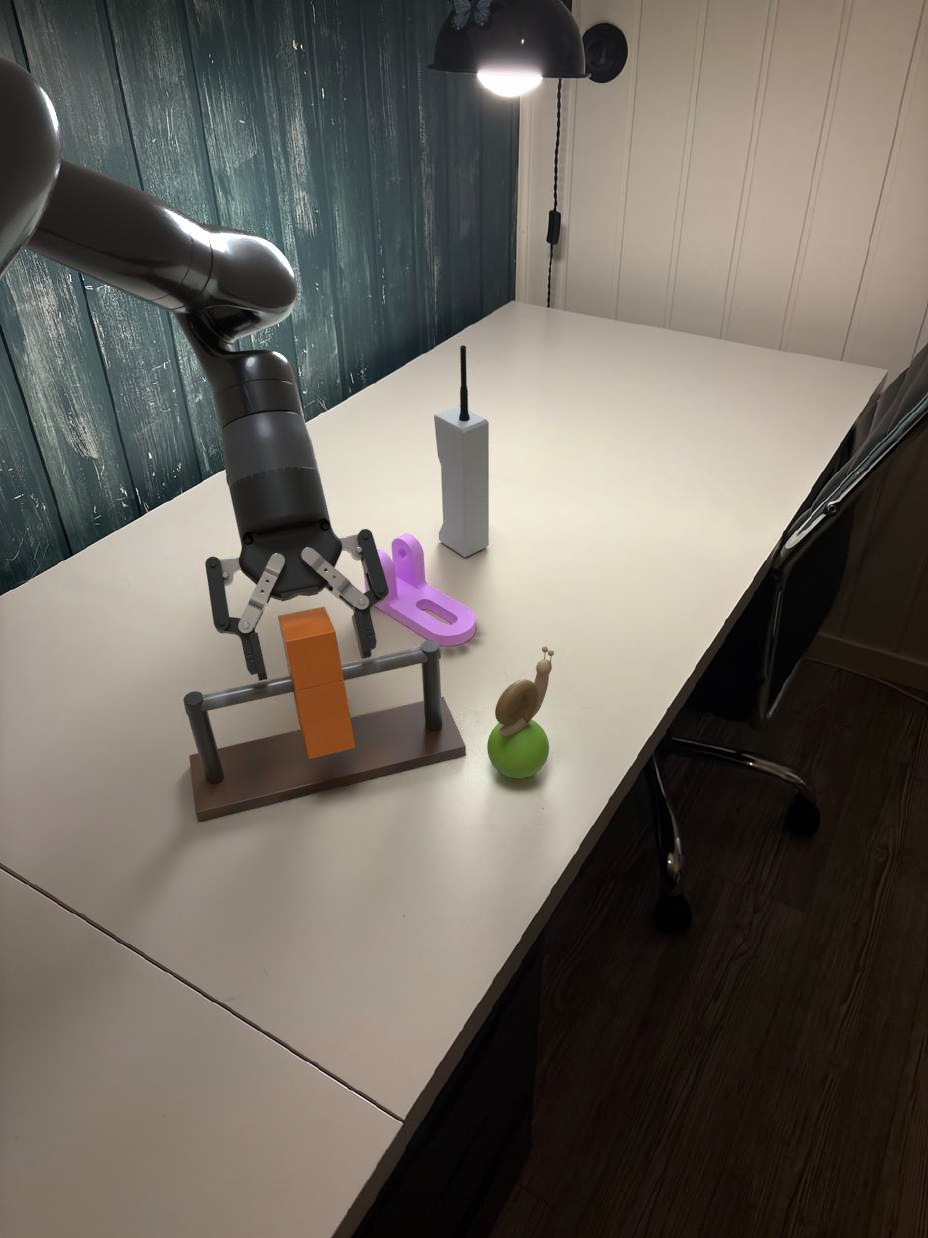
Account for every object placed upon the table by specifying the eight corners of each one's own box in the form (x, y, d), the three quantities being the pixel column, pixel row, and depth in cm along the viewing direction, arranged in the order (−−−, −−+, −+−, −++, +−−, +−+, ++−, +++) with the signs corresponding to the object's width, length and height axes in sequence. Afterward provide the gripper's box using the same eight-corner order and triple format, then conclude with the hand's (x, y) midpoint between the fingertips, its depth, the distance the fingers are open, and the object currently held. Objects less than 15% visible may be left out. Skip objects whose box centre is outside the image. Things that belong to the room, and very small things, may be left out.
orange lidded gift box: (308, 759, 77) (285, 641, 72) (299, 727, 82) (277, 615, 77) (355, 748, 77) (335, 630, 73) (344, 717, 82) (324, 605, 78)
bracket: (366, 601, 102) (361, 549, 98) (403, 579, 105) (399, 528, 101) (449, 653, 95) (447, 599, 90) (486, 628, 98) (485, 575, 94)
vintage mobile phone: (462, 530, 113) (457, 332, 97) (488, 547, 110) (488, 345, 94) (438, 541, 111) (430, 341, 96) (465, 559, 108) (461, 355, 92)
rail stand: (198, 822, 78) (170, 732, 71) (191, 764, 83) (165, 675, 77) (466, 755, 84) (464, 666, 77) (444, 704, 89) (440, 617, 82)
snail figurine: (567, 762, 83) (575, 662, 75) (519, 801, 79) (521, 700, 72) (523, 731, 86) (526, 632, 78) (474, 768, 82) (473, 668, 75)
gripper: (182, 480, 71) (225, 684, 70) (362, 450, 74) (406, 645, 73) (190, 505, 78) (229, 690, 77) (354, 477, 82) (394, 654, 80)
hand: (315, 668), depth 75 cm, fingers open, 8 cm apart
